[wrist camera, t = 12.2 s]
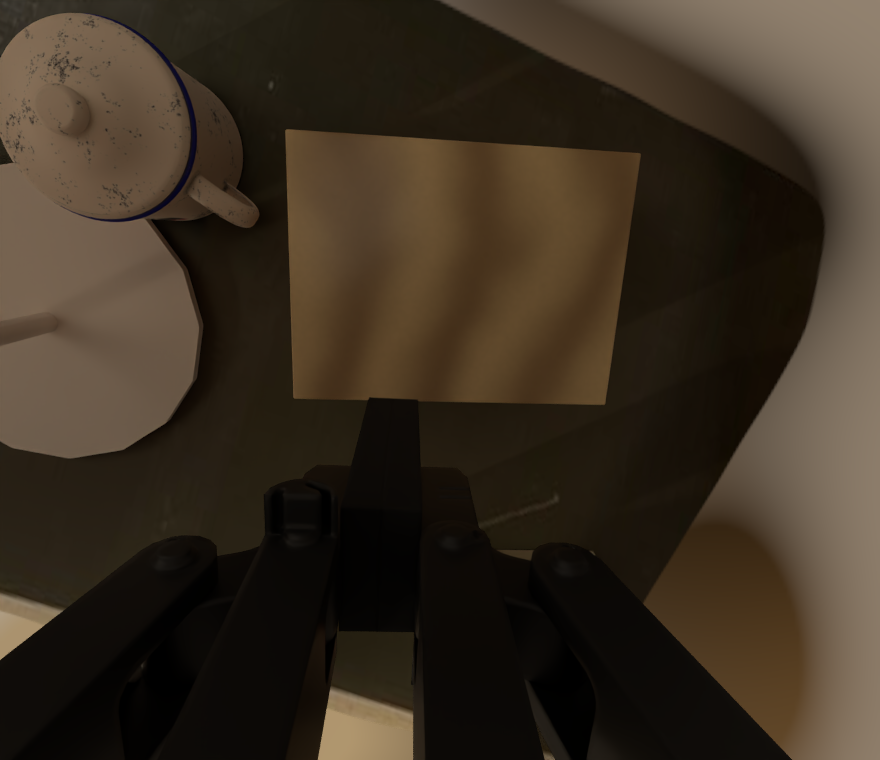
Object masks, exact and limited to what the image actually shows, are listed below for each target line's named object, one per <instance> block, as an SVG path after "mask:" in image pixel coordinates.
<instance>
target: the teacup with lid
mask: <svg viewBox="0 0 880 760" xmlns="http://www.w3.org/2000/svg"><path fill="white" fill-rule="evenodd" d="M0 137H1V139H2V142H3V144H4V146H5V148H6V150H7V152H8V154H9V156H10V157H11V159H12V160H13V162H14V164H15V165H16V166H17V168H18V169H19V170H20V172H21V173H22V174H23V175H24V177H25V178H26V179H27V180H28V181H29V182H30V183H31V184H32V185H33V186H34V187H35V188H36V189H37V190H38V191H40V192H41V193H42V194H43V195H45V196H46V197H47V198H49V199H50V200H52V201H53V202H55V203H56V204H58V205H59V206H61V207H63V208H64V209H67V210H69V211H71V212H73V213H75V214H77V215H80V216H83V217H86V218H89V219H93V220H98V221H105V222H126V221H133V220H138V219H157V220H175V221H187V220H195V219H199V218H202V217H205V216H207V215H210V214H212V213H215V214H217V215H218V216H220V217H221V218H223V219H225V220H227V221H229V222H231V223H233V224H235V225H237V226H240V227H244V228H250V227H252V226H253V225H254V224H255V223H256V221H257V220H258V218H259V210H258V208H257V207H256V206H255V204H254V203H253V202H252V201H251V200H250V199H249V198H247V197H246V196H245V195H244V194H242V193H241V192H240V191H239V190H237V189H236V187H237V185H238V183H239V180H240V177H241V173H242V167H243V148H242V142H241V138H240V134H239V131H238V128H237V126H236V123H235V121H234V119H233V117H232V116H231V114H230V112H229V111H228V109H227V108H226V107H225V105H224V104H223V103H222V102H221V100H220V99H219V98H218V97H217V96H216V95H215V94H214V93H213V92H211V91H210V90H209V89H208V88H206V87H205V86H204V85H202V84H201V83H199V82H198V81H197V80H195V79H194V78H192V77H191V76H190V75H188V74H187V73H185V72H184V71H183V70H181V69H180V68H178V67H177V66H176V65H174V64H173V63H171V62H170V61H169V60H168V59H167V58H166V57H165V55H164V54H163V53H162V52H161V51H160V50H159V49H158V48H157V47H156V46H155V45H154V44H153V43H151V42H150V41H149V40H148V39H147V38H145V37H144V36H143V35H141V34H140V33H138V32H137V31H135V30H134V29H132V28H130V27H128V26H127V25H124V24H122V23H120V22H118V21H116V20H113V19H110V18H107V17H103V16H99V15H94V14H87V13H63V14H57V15H52V16H49V17H46V18H43V19H40V20H38V21H36V22H34V23H32V24H31V25H29V26H27V27H26V28H24V29H23V30H22V31H21V32H20V33H18V34H17V35H16V36H15V37H14V38H13V40H12V41H11V42H10V43H9V45H8V46H7V47H6V49H5V51H4V52H3V54H2V56H1V58H0Z"/></svg>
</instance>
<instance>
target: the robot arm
mask: <svg viewBox="0 0 880 760" xmlns="http://www.w3.org/2000/svg"><path fill="white" fill-rule="evenodd" d="M264 510H265V536H264V538H263V541H262V543H261V545H260V546H259V547H256V548H254V549H251V550H247V551H243V552H238V553H233V554H227V555H221V556H217V546H216V545H215V544H214V543H213V542H212V541H211V540H209V539H206V538H203V537H201V536H187V535H184V536H178V537H177V536H175V537H170V538H167V539H164V540H162V541H159V542H156V543H153V544H151V545H150V546H148V547H146V548H145V549H143V550H141V551H140V552H138V553H137V554H136V555H135V556H133V557H132V558H131V559H129V560H128V561H127V562H126V563H124V564H123V565H122V566H120V567H119V568H118V569H117V570H115V571H114V572H113V573H111V574H110V575H109V576H108V577H106V578H105V579H104V580H102V581H101V582H100V583H99V584H97V585H96V586H95V587H93V588H92V589H91V590H90V591H88V592H87V593H86V594H84V595H83V596H82V597H81V598H79V599H78V600H77V601H75V602H74V603H73V604H72V605H70V606H69V607H68V608H66V609H65V610H64V611H63V612H61V613H60V614H59V615H57V616H56V617H55V618H54V619H52V620H51V621H50V622H48V623H47V624H46V625H45V626H43V627H42V628H41V629H40V630H38V631H37V632H36V633H34V634H33V635H32V636H31V637H29V638H28V639H27V640H26V641H24V642H23V643H22V644H20V645H19V646H18V647H16V648H15V649H14V650H12V651H11V652H10V653H9V654H7V655H6V656H5V657H4V658H2V659H1V660H0V760H318V754H319V749H320V742H321V737H322V732H323V726H324V720H325V714H326V709H327V703H328V698H329V692H330V686H331V680H332V675H333V669H334V663H335V658H336V651H337V626H338V621H339V631H376V632H414V648H413V665H412V681H411V685H413V760H545V759H544V755H543V751H542V747H541V743H540V739H539V735H538V731H537V727H536V723H537V725H538V727H539V729H540V731H541V733H542V735H543V737H544V739H545V741H546V743H547V745H548V747H549V749H550V750H551V752H552V754H553V756H554V758H555V760H792V759H791V758H790V757H789V756H788V755H787V754H786V753H785V752H784V751H783V750H782V749H781V748H780V747H779V746H778V745H777V744H776V743H775V741H773V739H772V738H771V737H770V736H769V735H768V734H767V733H766V732H765V731H764V730H763V729H762V728H761V727H760V726H759V725H758V724H757V723H756V722H755V721H754V720H753V718H751V716H750V715H749V714H748V713H747V712H746V711H745V710H744V709H743V708H742V707H741V706H740V705H739V704H738V703H737V702H736V701H735V700H734V699H733V698H732V697H731V696H730V694H729V693H727V691H726V690H725V689H724V688H723V687H722V686H721V685H720V684H719V683H718V682H717V681H716V680H715V679H714V678H713V677H712V676H711V675H710V674H709V673H708V672H707V670H706V669H705V668H704V667H703V666H702V665H701V664H700V663H699V662H698V661H697V660H696V659H695V658H694V657H693V656H692V655H691V654H690V653H689V652H688V651H687V650H686V648H685V647H684V646H683V645H682V644H681V643H680V642H679V641H678V640H677V639H676V638H675V637H674V636H673V635H672V634H671V633H670V632H669V631H668V630H667V629H666V628H665V626H663V625H662V623H661V622H660V621H659V620H658V619H657V618H656V617H655V616H654V615H653V614H652V613H651V612H650V611H649V610H648V609H647V608H646V607H645V606H644V605H643V603H642V602H641V601H640V600H639V599H638V598H637V597H636V596H635V595H634V594H633V593H632V592H631V591H630V590H629V589H628V588H627V587H626V586H625V585H624V584H623V583H622V582H621V580H620V579H619V578H618V577H617V576H616V575H615V574H614V573H613V572H612V571H611V570H610V569H609V568H608V567H607V566H606V565H605V564H604V563H603V562H602V561H601V560H600V559H599V558H598V557H597V556H595V555H594V554H593V553H591V552H590V551H588V550H586V549H583V548H581V547H579V546H577V545H573V544H569V543H548V544H544V545H540V546H539V547H538V548H536V549H535V550H534V551H533V553H532V557H531V560H526V559H522V558H518V557H514V556H510V555H507V554H504V553H502V552H500V551H497V550H495V549H494V548H492V547H491V543H490V540H489V538H488V536H487V535H486V533H485V532H484V531H483V530H481V529H480V528H479V526H478V522H477V518H476V513H475V509H474V505H473V500H472V496H471V491H470V487H469V483H468V478H467V477H466V476H465V475H464V474H463V473H462V472H461V471H460V470H459V469H458V468H440V467H421V464H420V438H419V413H418V399H396V398H373V397H369V399H368V403H367V407H366V411H365V415H364V419H363V423H362V427H361V430H360V434H359V438H358V442H357V446H356V450H355V454H354V457H353V461H352V465H351V466H338V465H316V466H315V467H314V468H312V469H311V470H310V471H308V472H307V473H305V475H304V477H303V479H294V480H290V481H286V482H282V483H279V484H277V485H275V486H273V487H271V488H270V489H269V490H268V491H267V492H266V493H265V494H264ZM535 721H536V723H535Z"/></svg>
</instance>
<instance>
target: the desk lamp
mask: <svg viewBox="0 0 880 760" xmlns="http://www.w3.org/2000/svg"><path fill="white" fill-rule="evenodd" d="M203 326H204V325H203V322H202V318H201V315H200V311H199V308H198V304H197V301H196V297H195V294H194V290H193V287H192V283H191V280H190V276H189V273H188V269H187V268H186V267H185V265H184V264H183V262H182V261H181V260H180V258H179V257H178V256H177V254H176V253H175V252H174V250H173V249H172V248H171V246H170V245H169V244H168V242H167V241H166V240H165V238H164V237H163V236H162V234H161V233H160V231H159V230H158V229H157V227H156V226H155V225H154V223H153V222H152V221H151V219H138V220H133V221H126V222H105V221H98V220H93V219H89V218H86V217H83V216H80V215H77V214H75V213H73V212H71V211H69V210H67V209H64V208H63V207H61V206H59V205H58V204H56V203H55V202H53V201H52V200H50V199H49V198H47V197H46V196H45V195H43V194H42V193H41V192H40V191H38V190H37V189H36V188H35V187H34V186H33V185H32V184H31V183H30V182H29V181H28V180H27V179H26V178H25V177H24V175H23V174H22V173H21V172H20V170H19V169H18V168H17V166H16V165H15V164H14V163H9V164H3V165H0V442H2V443H4V444H6V445H8V446H10V447H11V448H16V449H21V450H26V451H32V452H37V453H42V454H48V455H53V456H58V457H64V458H69V459H70V458H76V457H82V456H89V455H95V454H101V453H107V452H113V451H119V450H124V449H125V448H127V447H128V446H130V445H132V444H133V443H135V442H136V441H138V440H140V439H141V438H143V437H144V436H146V435H147V434H149V433H151V432H152V431H154V430H155V429H157V428H159V427H160V426H162V425H163V424H165V423H166V422H168V421H169V420H170V419H171V418H172V416H173V415H174V413H175V411H176V410H177V408H178V407H179V405H180V404H181V402H182V401H183V399H184V397H185V396H186V394H187V393H188V391H189V390H190V388H191V386H192V385H193V383H194V382H195V380H196V379H197V374H198V366H199V358H200V350H201V342H202V334H203Z"/></svg>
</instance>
